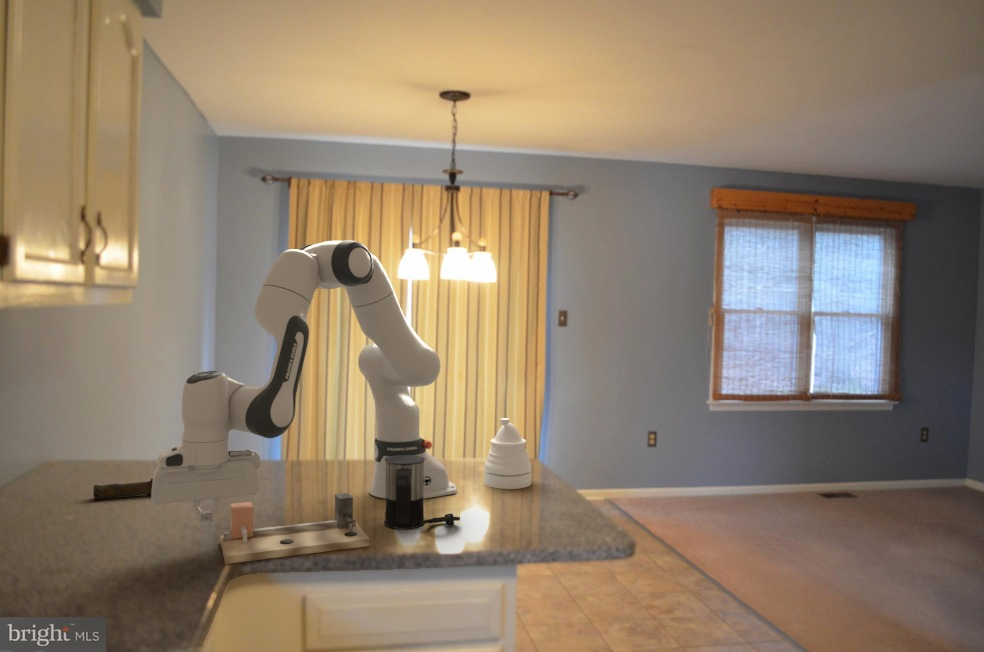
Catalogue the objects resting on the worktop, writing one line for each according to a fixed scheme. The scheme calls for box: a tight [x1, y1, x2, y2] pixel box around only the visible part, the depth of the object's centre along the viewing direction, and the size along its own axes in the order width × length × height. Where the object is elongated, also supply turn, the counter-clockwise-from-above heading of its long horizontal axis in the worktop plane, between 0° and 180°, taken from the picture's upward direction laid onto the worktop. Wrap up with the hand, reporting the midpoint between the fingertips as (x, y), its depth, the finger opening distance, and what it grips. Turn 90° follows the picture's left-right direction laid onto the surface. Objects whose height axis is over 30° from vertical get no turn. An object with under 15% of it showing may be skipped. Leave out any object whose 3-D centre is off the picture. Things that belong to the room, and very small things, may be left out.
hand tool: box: [93, 477, 153, 501], centre depth 189 cm, size 19×4×5 cm, turn 109°
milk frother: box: [383, 455, 461, 530], centre depth 169 cm, size 14×16×15 cm
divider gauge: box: [219, 492, 370, 565], centre depth 155 cm, size 28×13×8 cm, turn 114°
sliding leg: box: [230, 501, 254, 544], centre depth 152 cm, size 4×9×6 cm, turn 24°
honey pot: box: [483, 417, 532, 490], centre depth 207 cm, size 13×13×18 cm
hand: (206, 520), depth 152 cm, fingers closed
